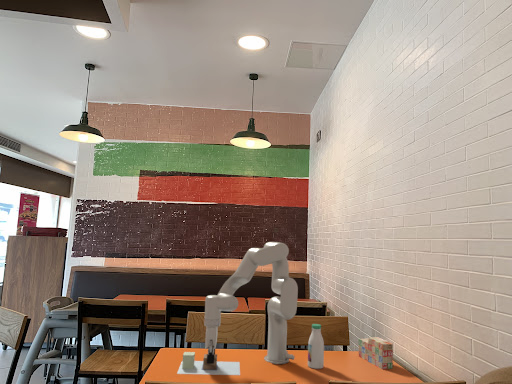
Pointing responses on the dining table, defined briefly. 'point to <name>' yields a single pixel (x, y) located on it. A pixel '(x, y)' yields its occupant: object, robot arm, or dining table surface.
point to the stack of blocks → (377, 352)
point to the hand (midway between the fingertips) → (211, 359)
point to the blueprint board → (221, 369)
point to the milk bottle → (316, 348)
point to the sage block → (188, 360)
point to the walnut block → (210, 366)
